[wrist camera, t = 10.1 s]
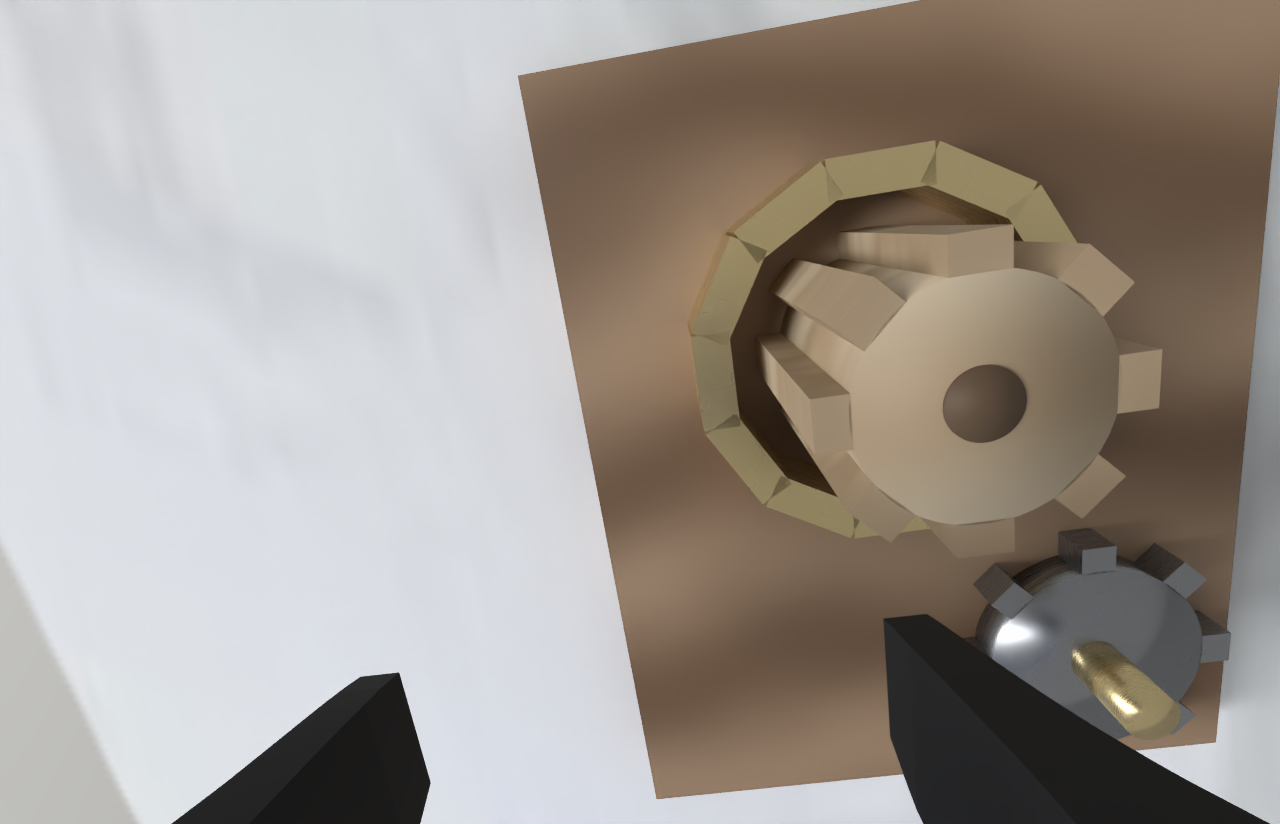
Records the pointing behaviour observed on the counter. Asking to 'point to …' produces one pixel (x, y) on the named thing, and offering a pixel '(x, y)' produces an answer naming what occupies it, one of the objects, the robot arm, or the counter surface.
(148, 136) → the counter surface
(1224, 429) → the walnut board
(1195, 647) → the steel gear
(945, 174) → the brass ring socket
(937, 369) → the maple gear
